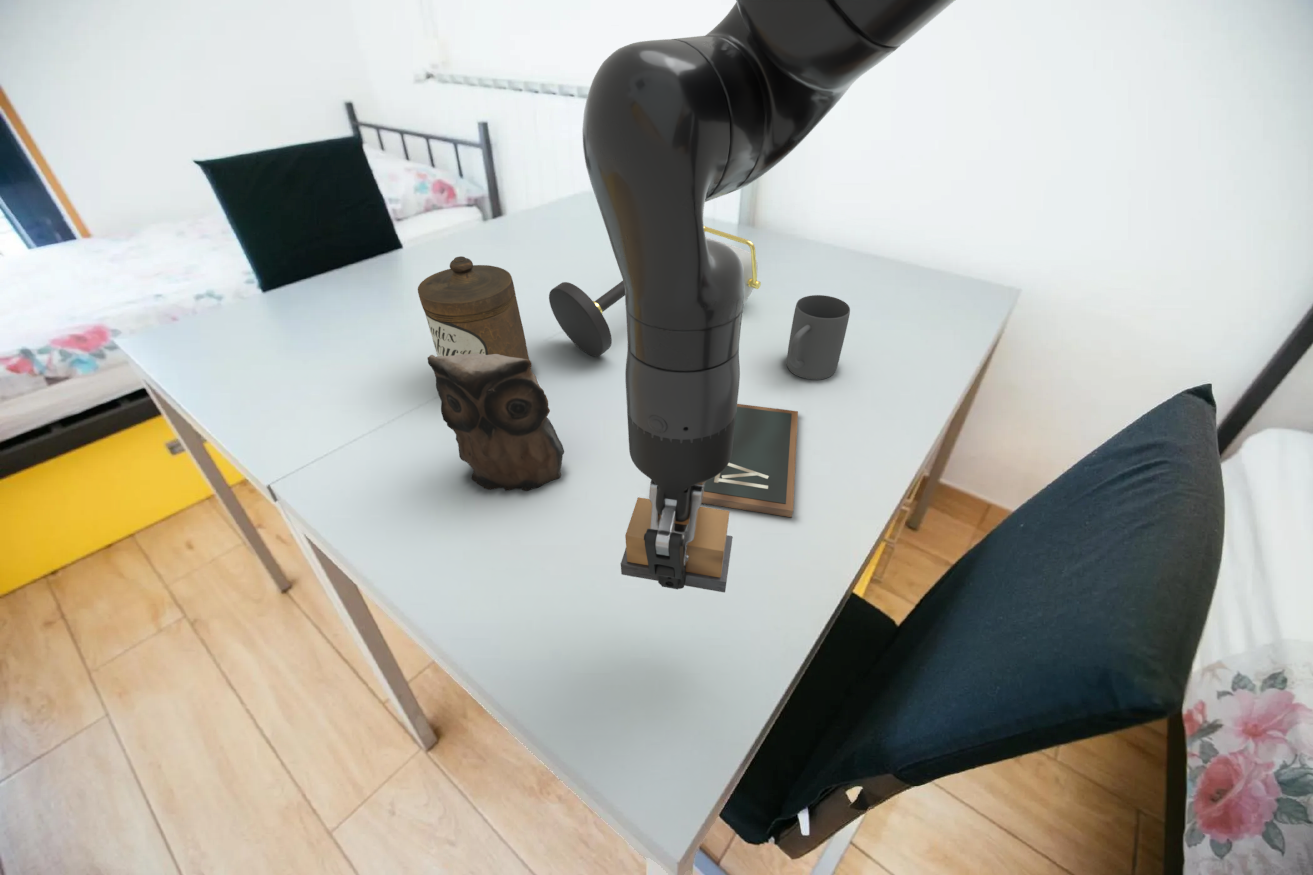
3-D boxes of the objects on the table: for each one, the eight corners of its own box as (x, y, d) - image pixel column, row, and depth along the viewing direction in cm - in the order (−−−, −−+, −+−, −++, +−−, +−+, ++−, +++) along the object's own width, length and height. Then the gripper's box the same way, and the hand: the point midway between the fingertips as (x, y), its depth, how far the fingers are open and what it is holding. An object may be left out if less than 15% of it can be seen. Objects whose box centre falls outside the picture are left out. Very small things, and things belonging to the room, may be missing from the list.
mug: (800, 348, 104) (811, 290, 96) (845, 365, 99) (860, 304, 92) (762, 379, 96) (771, 317, 88) (809, 398, 91) (822, 335, 84)
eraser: (731, 546, 49) (736, 508, 46) (725, 592, 45) (729, 555, 42) (635, 531, 50) (633, 493, 47) (621, 574, 47) (618, 537, 44)
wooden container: (430, 382, 96) (390, 261, 82) (497, 348, 105) (471, 234, 91) (481, 413, 89) (446, 287, 75) (548, 374, 98) (529, 255, 84)
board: (796, 417, 87) (798, 410, 86) (791, 517, 71) (793, 509, 70) (687, 403, 91) (687, 396, 90) (658, 496, 74) (658, 488, 73)
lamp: (643, 412, 102) (774, 298, 117) (614, 316, 85) (771, 196, 100) (558, 359, 117) (684, 264, 131) (519, 268, 100) (668, 170, 114)
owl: (571, 479, 77) (553, 357, 64) (487, 518, 71) (448, 394, 58) (533, 433, 85) (509, 317, 72) (454, 465, 79) (413, 346, 66)
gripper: (724, 480, 31) (708, 639, 42) (746, 353, 42) (729, 505, 52) (598, 463, 32) (615, 621, 43) (650, 343, 43) (653, 494, 54)
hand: (677, 556), depth 48 cm, fingers closed on eraser, 5 cm apart
